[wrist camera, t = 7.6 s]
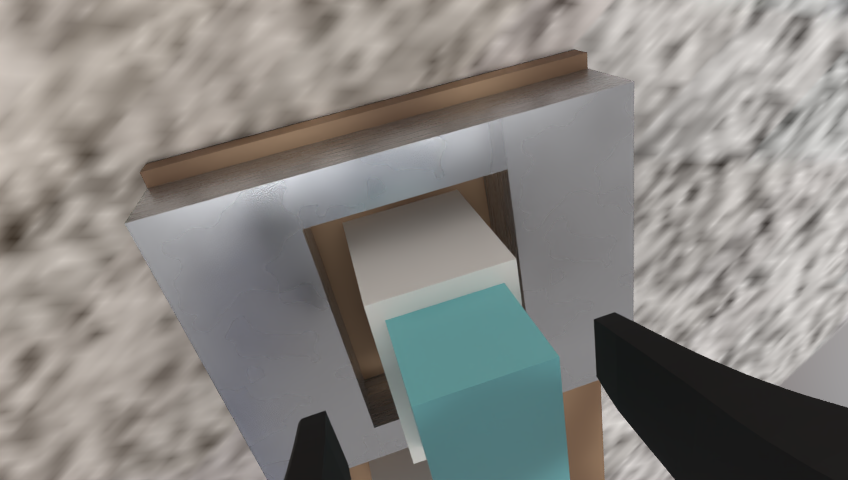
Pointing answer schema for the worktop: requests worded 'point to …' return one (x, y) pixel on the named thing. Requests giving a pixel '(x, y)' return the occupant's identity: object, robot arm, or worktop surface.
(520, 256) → the port
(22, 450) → the worktop surface
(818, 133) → the worktop surface
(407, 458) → the grey rectangular frame
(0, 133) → the worktop surface
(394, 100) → the panel board
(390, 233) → the plug
